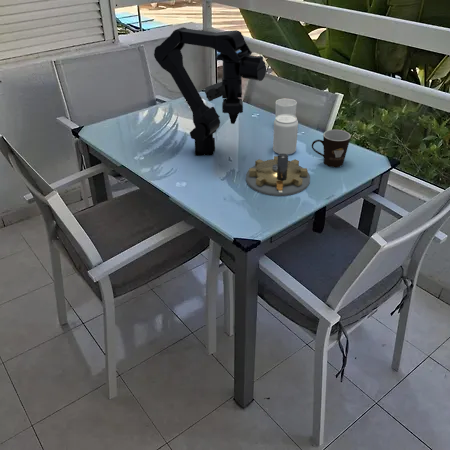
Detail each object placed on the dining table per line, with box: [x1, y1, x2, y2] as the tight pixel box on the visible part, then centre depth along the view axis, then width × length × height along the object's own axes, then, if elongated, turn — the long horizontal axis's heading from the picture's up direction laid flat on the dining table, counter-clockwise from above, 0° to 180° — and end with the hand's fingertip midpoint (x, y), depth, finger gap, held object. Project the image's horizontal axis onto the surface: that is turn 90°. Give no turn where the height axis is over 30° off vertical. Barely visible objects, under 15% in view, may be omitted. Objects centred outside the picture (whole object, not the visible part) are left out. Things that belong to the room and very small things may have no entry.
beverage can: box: [272, 114, 299, 156], centre depth 164 cm, size 8×8×12 cm
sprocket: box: [248, 154, 309, 190], centre depth 147 cm, size 18×18×10 cm
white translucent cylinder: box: [275, 98, 298, 118], centre depth 180 cm, size 8×8×10 cm
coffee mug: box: [311, 129, 352, 168], centre depth 156 cm, size 12×9×10 cm
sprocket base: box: [245, 165, 311, 197], centre depth 150 cm, size 20×20×1 cm
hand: (232, 123), depth 155 cm, fingers closed
